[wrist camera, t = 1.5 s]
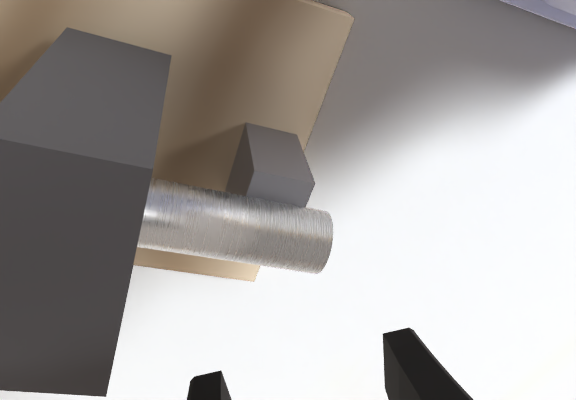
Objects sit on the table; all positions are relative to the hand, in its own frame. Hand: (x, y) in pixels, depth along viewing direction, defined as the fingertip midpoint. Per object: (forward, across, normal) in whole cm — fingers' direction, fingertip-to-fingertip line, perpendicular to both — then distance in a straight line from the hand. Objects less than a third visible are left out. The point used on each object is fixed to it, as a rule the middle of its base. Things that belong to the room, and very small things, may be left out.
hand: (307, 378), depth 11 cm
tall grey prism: (+8, +5, -3) cm, 10 cm away
